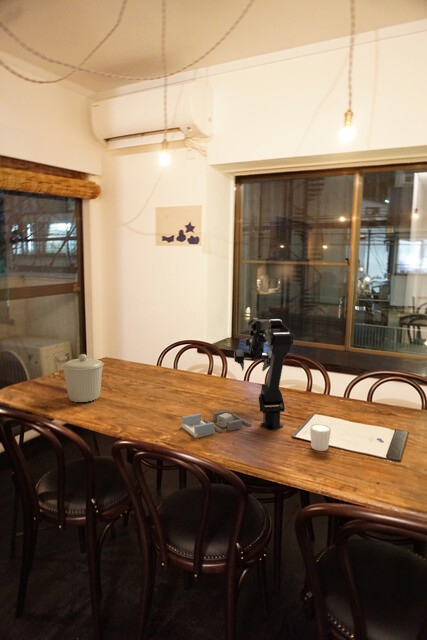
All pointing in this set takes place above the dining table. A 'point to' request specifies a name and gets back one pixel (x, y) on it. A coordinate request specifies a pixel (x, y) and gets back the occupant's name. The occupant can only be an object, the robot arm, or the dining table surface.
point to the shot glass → (320, 437)
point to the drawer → (197, 426)
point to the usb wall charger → (224, 419)
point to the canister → (83, 378)
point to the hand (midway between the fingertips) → (252, 370)
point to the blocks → (231, 424)
